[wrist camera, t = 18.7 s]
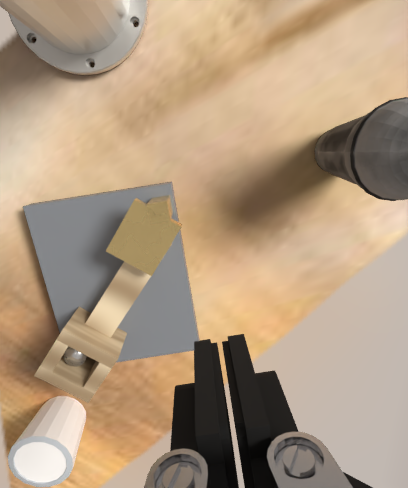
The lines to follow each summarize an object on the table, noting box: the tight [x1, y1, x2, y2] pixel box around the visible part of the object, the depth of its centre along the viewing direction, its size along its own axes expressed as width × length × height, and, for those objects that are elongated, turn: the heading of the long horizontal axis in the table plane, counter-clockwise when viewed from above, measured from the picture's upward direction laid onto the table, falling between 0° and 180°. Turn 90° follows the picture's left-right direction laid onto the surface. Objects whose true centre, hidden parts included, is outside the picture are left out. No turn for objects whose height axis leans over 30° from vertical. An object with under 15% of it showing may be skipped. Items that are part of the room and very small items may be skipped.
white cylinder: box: [8, 396, 86, 487], centre depth 40 cm, size 7×7×7 cm
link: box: [34, 243, 172, 403], centre depth 35 cm, size 18×6×5 cm, turn 147°
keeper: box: [106, 195, 182, 276], centre depth 34 cm, size 7×5×6 cm
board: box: [23, 182, 199, 362], centre depth 38 cm, size 19×15×2 cm
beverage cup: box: [315, 97, 408, 201], centre depth 27 cm, size 7×7×20 cm
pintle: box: [64, 346, 87, 367], centre depth 38 cm, size 2×2×6 cm
